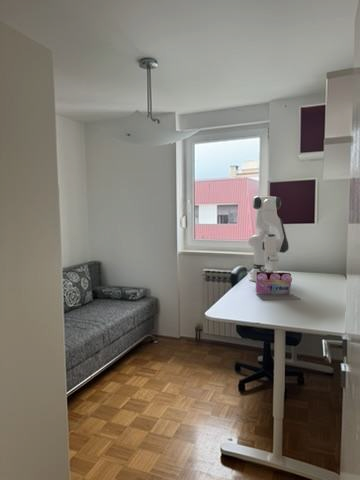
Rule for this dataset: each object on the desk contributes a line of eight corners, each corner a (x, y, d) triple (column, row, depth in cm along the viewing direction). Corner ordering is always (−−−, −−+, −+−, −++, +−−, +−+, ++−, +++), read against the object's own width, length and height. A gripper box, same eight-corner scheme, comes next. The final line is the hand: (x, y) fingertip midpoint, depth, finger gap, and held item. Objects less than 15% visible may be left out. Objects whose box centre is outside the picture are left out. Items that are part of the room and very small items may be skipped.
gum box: (290, 286, 232) (292, 272, 224) (291, 294, 226) (293, 280, 218) (255, 285, 237) (256, 271, 229) (255, 293, 231) (256, 279, 223)
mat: (256, 294, 227) (256, 294, 227) (292, 294, 229) (292, 293, 229) (262, 300, 213) (262, 299, 213) (301, 299, 215) (301, 299, 215)
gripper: (262, 256, 240) (262, 275, 240) (270, 257, 220) (270, 278, 220) (270, 256, 240) (270, 275, 240) (279, 257, 220) (280, 278, 220)
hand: (270, 276), depth 230 cm, fingers closed
